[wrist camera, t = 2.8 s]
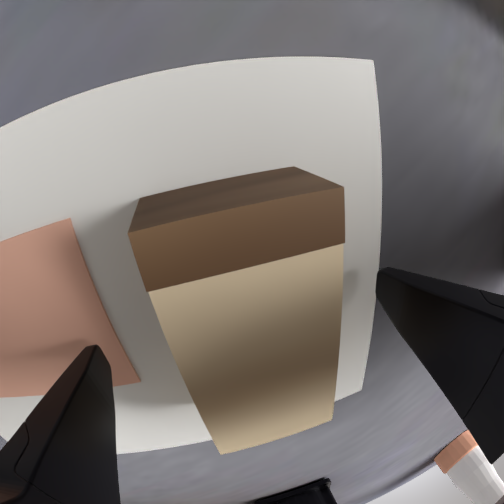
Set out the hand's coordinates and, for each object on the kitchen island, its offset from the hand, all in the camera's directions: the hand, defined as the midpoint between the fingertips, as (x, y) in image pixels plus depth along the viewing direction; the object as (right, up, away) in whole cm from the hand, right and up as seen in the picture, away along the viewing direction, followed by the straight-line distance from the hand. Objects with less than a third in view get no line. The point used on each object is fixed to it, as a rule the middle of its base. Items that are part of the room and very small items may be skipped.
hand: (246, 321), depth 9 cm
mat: (-5, -1, 0) cm, 5 cm away
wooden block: (0, 0, +1) cm, 1 cm away
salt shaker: (+32, -29, +24) cm, 49 cm away
